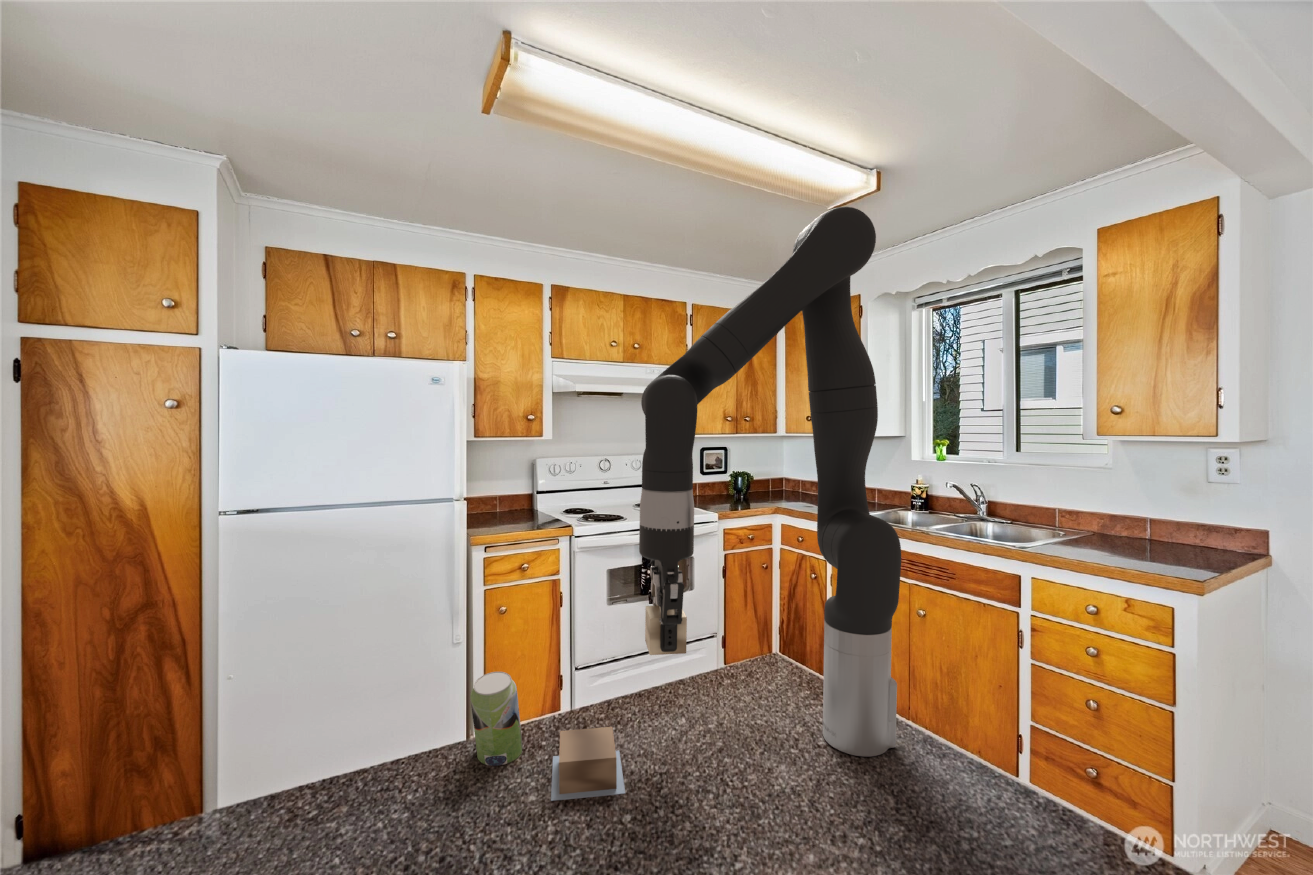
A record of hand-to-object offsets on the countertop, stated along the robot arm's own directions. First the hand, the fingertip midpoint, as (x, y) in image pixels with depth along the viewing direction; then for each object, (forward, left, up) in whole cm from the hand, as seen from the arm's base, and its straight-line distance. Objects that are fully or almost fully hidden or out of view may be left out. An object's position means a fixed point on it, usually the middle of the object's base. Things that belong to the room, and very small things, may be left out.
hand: (665, 641), depth 81 cm
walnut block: (+11, +5, -15) cm, 19 cm away
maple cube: (0, 0, -1) cm, 1 cm away
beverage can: (+23, -1, -16) cm, 28 cm away
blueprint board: (+10, +5, -16) cm, 19 cm away
